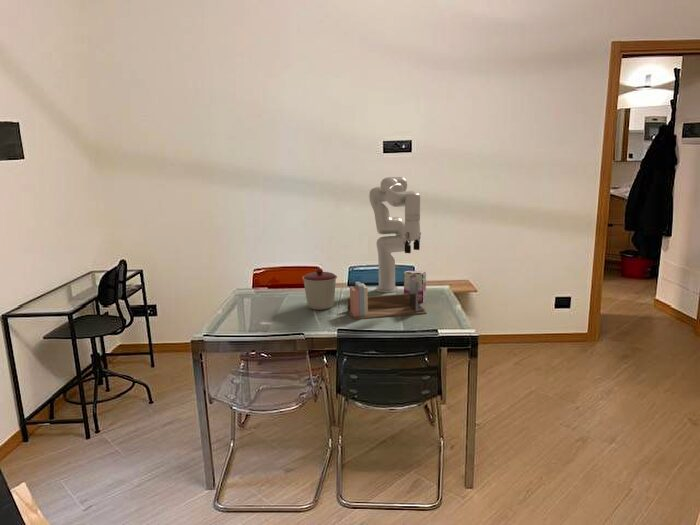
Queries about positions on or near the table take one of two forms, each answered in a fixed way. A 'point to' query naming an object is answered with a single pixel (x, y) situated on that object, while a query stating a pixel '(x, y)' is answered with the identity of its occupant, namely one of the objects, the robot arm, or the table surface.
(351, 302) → the books
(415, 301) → the bookend
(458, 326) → the table surface
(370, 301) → the shelf
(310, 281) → the canister
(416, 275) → the candy bar box
